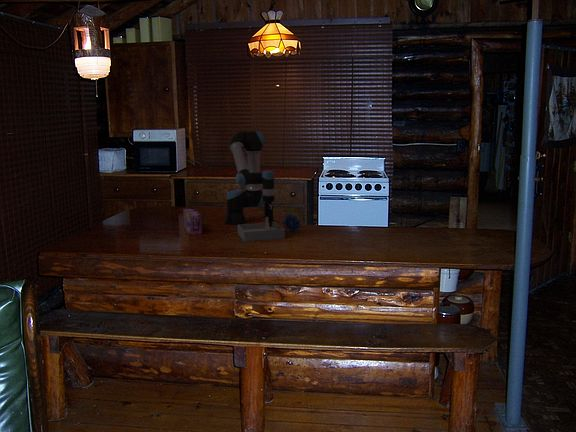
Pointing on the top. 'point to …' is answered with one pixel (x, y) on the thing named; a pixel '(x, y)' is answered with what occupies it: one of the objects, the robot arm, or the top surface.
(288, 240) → the top surface
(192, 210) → the gum box
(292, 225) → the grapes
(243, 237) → the box
